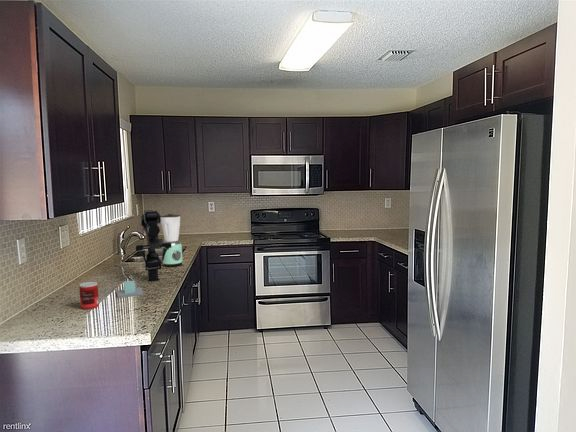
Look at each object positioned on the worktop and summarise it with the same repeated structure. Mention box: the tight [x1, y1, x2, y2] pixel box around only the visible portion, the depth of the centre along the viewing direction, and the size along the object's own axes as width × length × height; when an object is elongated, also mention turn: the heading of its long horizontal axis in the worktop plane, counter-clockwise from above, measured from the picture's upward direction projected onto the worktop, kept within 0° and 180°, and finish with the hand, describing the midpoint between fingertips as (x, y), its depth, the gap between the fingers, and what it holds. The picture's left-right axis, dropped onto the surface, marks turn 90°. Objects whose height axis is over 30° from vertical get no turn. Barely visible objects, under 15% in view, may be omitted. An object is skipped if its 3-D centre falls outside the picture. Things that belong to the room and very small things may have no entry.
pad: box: [116, 287, 144, 299], centre depth 210 cm, size 12×12×1 cm
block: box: [123, 280, 136, 294], centre depth 209 cm, size 5×5×5 cm
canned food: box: [78, 281, 100, 310], centre depth 188 cm, size 8×8×11 cm
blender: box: [160, 213, 184, 268], centre depth 277 cm, size 19×13×35 cm
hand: (154, 261), depth 226 cm, fingers open, 9 cm apart
